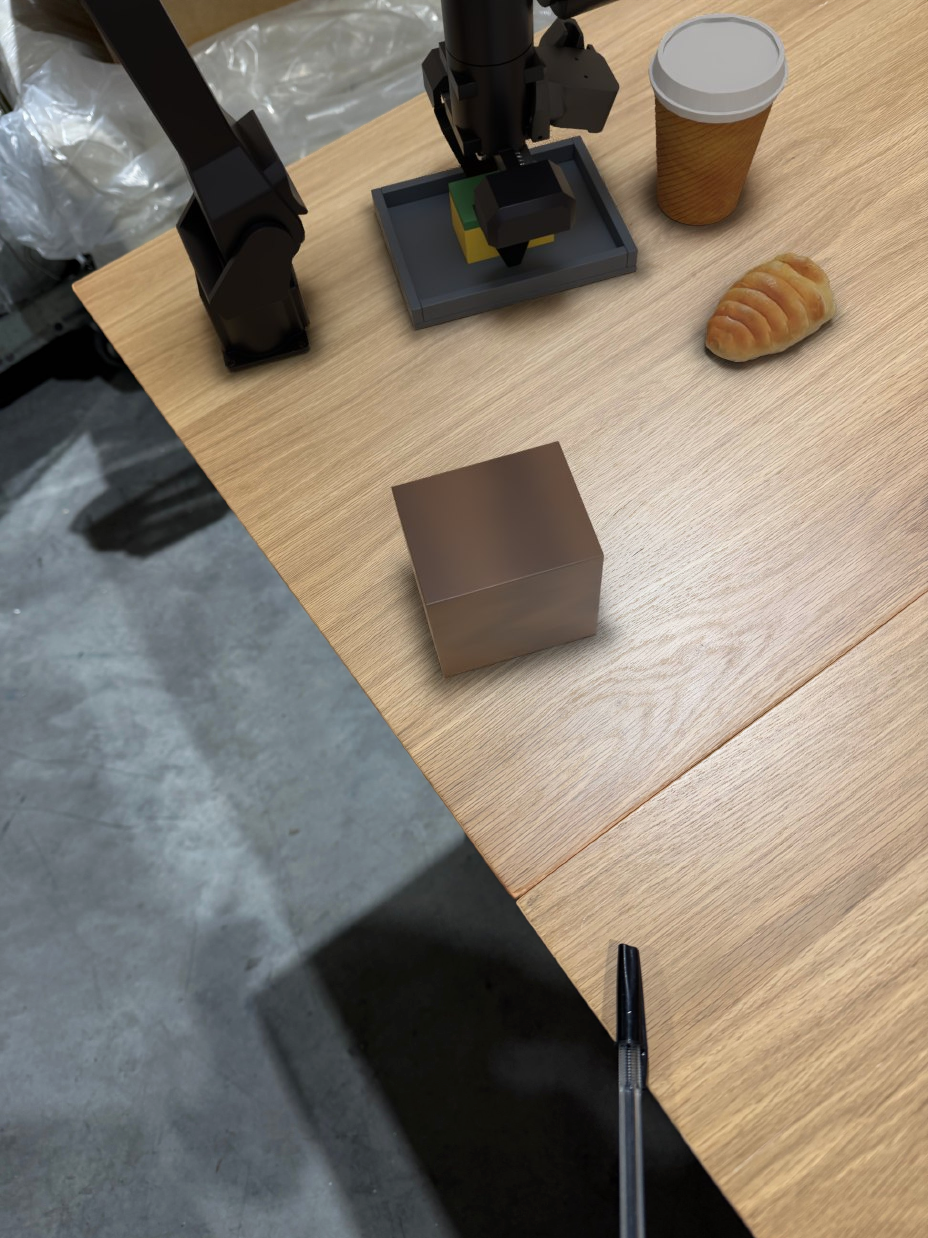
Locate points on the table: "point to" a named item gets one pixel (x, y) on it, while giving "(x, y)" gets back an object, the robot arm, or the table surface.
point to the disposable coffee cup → (712, 110)
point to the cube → (502, 557)
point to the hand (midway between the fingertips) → (500, 232)
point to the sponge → (474, 222)
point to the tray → (458, 289)
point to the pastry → (771, 309)
